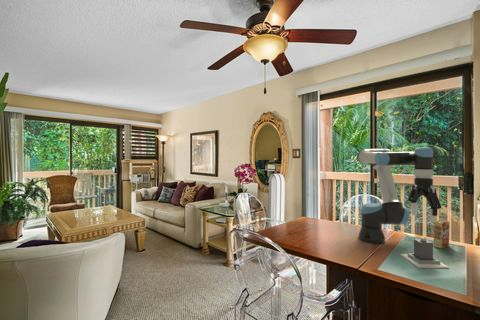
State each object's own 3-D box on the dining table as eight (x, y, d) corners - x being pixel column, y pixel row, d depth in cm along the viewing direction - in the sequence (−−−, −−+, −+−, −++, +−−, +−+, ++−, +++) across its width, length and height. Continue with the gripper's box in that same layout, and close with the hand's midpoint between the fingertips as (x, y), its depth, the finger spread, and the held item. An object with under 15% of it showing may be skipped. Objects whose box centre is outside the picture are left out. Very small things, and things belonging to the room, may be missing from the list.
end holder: (400, 255, 127) (400, 251, 127) (427, 255, 126) (427, 251, 126) (418, 267, 113) (418, 263, 113) (448, 268, 112) (448, 263, 112)
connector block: (413, 257, 122) (413, 236, 122) (425, 257, 122) (425, 236, 121) (420, 262, 117) (420, 239, 117) (433, 262, 117) (433, 239, 116)
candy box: (441, 249, 135) (442, 223, 134) (433, 246, 139) (433, 221, 138) (449, 246, 138) (449, 221, 138) (441, 243, 142) (441, 219, 142)
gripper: (451, 180, 106) (451, 225, 106) (414, 175, 131) (414, 212, 131) (434, 180, 106) (434, 225, 107) (400, 175, 131) (400, 212, 132)
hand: (423, 218), depth 119 cm, fingers open, 13 cm apart
